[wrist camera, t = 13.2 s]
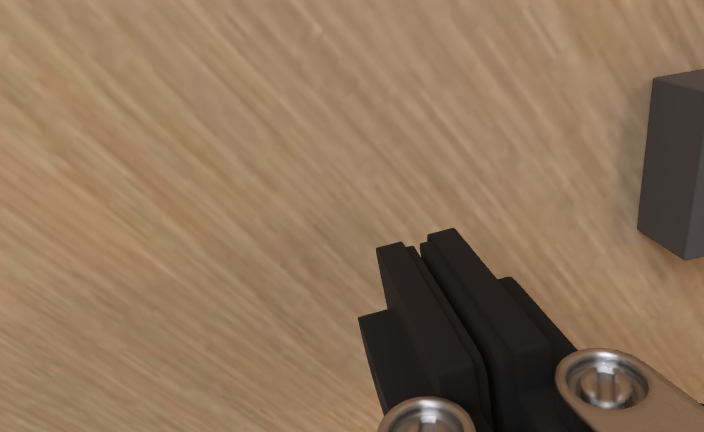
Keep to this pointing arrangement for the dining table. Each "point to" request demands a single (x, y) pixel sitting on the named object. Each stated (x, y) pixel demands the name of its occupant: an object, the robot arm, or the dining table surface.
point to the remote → (675, 166)
